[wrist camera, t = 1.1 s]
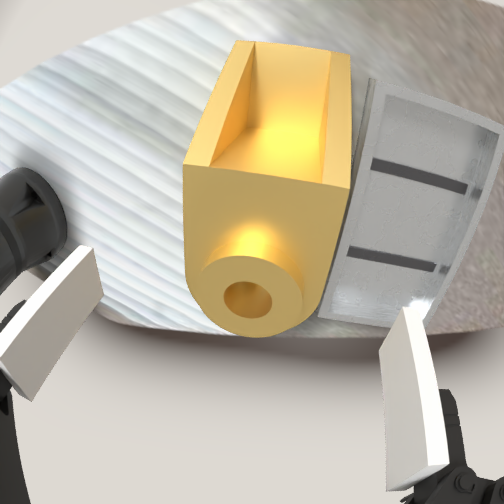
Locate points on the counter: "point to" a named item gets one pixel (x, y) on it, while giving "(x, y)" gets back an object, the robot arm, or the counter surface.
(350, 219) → the tray
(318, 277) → the yellow mounting bracket
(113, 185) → the counter surface
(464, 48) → the counter surface
